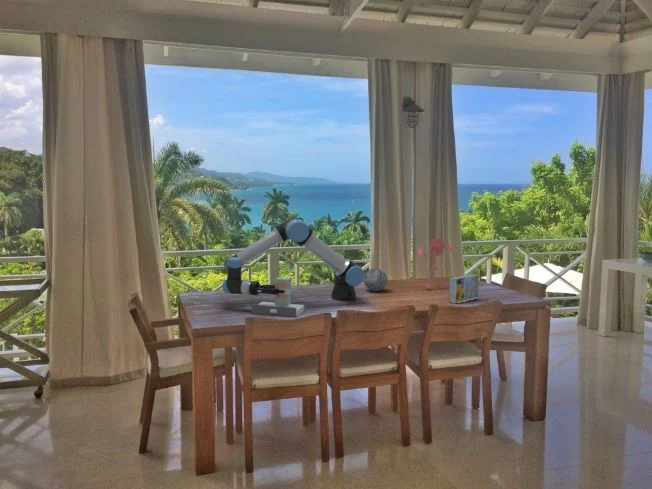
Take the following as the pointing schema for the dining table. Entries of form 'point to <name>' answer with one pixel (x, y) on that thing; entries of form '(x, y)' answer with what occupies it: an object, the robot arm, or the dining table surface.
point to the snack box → (463, 287)
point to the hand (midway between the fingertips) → (292, 290)
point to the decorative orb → (375, 279)
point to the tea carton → (282, 298)
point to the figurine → (437, 249)
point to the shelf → (277, 309)
